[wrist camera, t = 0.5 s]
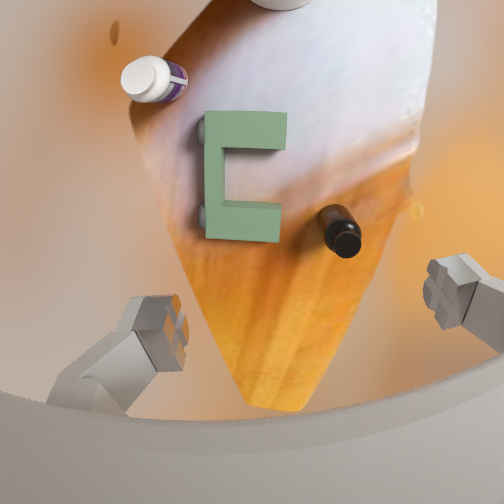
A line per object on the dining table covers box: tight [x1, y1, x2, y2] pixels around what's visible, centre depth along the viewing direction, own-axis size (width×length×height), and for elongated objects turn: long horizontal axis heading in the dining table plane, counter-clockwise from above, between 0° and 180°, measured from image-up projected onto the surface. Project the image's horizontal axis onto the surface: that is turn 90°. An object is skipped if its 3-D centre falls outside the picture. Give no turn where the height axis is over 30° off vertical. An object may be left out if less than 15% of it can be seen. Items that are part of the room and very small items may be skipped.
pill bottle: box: [121, 55, 188, 103], centre depth 41 cm, size 8×8×14 cm
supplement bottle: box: [318, 204, 361, 258], centre depth 52 cm, size 7×7×12 cm
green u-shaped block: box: [197, 111, 287, 243], centre depth 52 cm, size 24×15×5 cm, turn 178°
